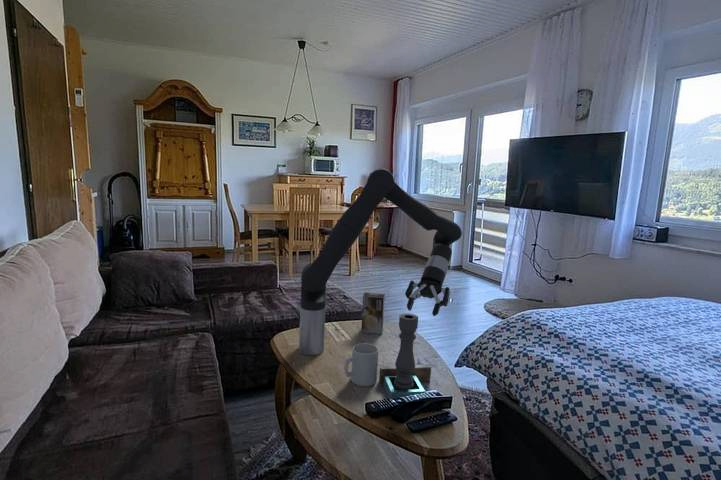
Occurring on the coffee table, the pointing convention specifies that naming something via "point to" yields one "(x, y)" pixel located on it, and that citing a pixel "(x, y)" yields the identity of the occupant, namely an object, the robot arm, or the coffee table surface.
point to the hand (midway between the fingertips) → (421, 312)
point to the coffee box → (373, 313)
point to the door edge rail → (420, 371)
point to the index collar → (393, 394)
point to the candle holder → (406, 352)
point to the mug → (363, 364)
